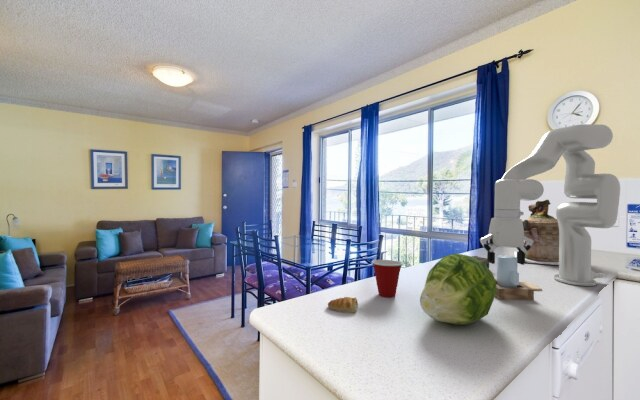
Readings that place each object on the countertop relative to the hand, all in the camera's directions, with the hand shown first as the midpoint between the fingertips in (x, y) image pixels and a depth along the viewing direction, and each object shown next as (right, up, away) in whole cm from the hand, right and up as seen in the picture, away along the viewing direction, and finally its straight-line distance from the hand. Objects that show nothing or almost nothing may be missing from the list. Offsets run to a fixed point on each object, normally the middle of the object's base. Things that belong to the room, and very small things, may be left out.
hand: (505, 263), depth 100 cm
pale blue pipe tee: (+1, -11, 0) cm, 11 cm away
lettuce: (-27, -12, -19) cm, 35 cm away
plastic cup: (-41, -12, +1) cm, 43 cm away
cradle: (+1, -11, 0) cm, 11 cm away
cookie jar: (+51, -10, +49) cm, 72 cm away
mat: (+12, -11, +8) cm, 18 cm away
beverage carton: (+3, -11, +27) cm, 29 cm away
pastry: (-57, -12, -11) cm, 60 cm away
